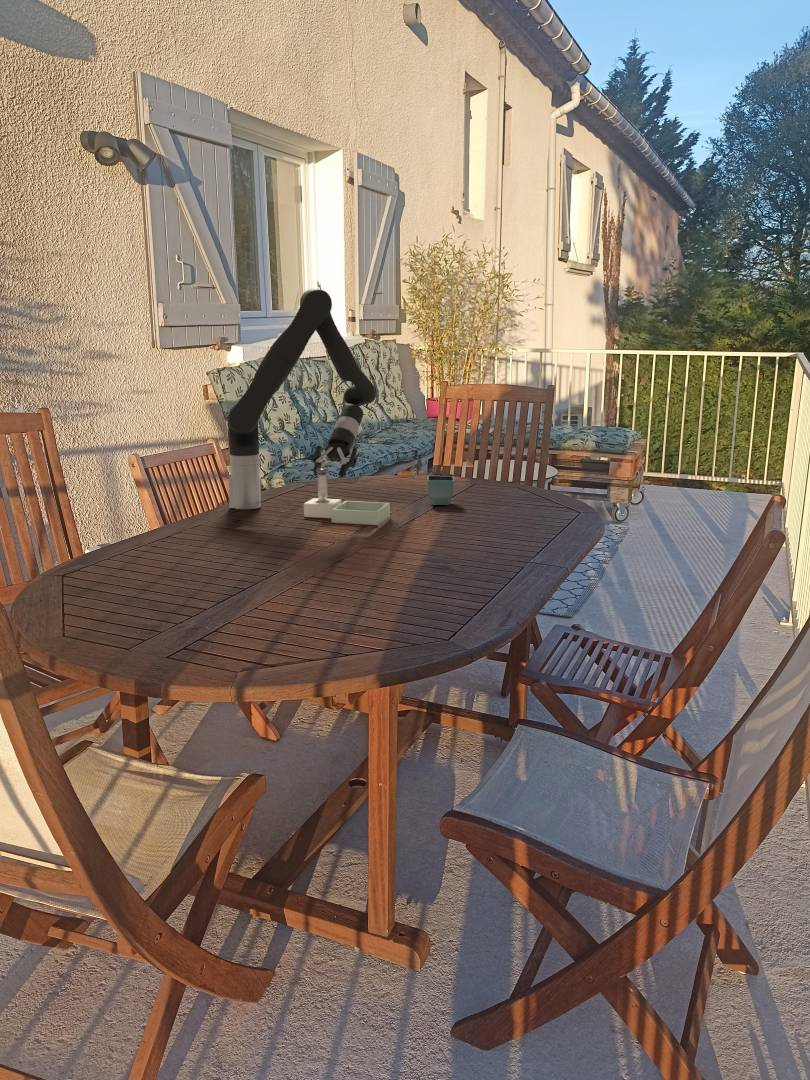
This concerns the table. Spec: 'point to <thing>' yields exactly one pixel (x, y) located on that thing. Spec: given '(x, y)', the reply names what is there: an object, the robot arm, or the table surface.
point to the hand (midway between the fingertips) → (327, 475)
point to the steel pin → (322, 485)
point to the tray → (361, 513)
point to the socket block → (320, 508)
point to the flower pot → (440, 489)
